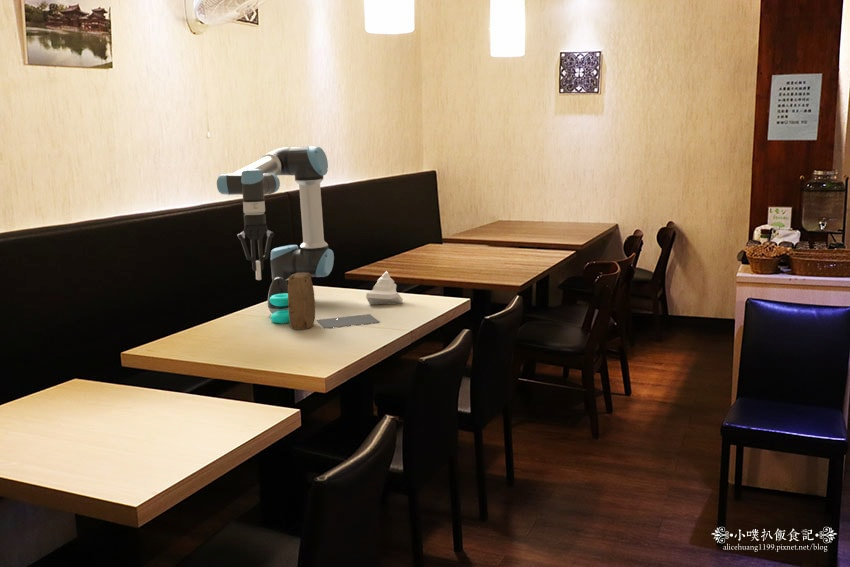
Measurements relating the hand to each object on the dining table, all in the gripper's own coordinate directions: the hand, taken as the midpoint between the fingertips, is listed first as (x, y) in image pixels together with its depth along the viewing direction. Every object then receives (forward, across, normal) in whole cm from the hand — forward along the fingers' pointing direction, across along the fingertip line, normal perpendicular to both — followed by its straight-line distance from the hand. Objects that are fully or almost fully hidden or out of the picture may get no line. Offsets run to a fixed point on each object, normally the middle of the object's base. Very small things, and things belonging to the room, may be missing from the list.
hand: (258, 279), depth 283 cm
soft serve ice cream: (+19, +54, +24) cm, 62 cm away
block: (+19, +15, 0) cm, 25 cm away
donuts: (+19, +10, +12) cm, 25 cm away
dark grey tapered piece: (+19, +11, +23) cm, 32 cm away
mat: (+19, +32, 0) cm, 38 cm away
